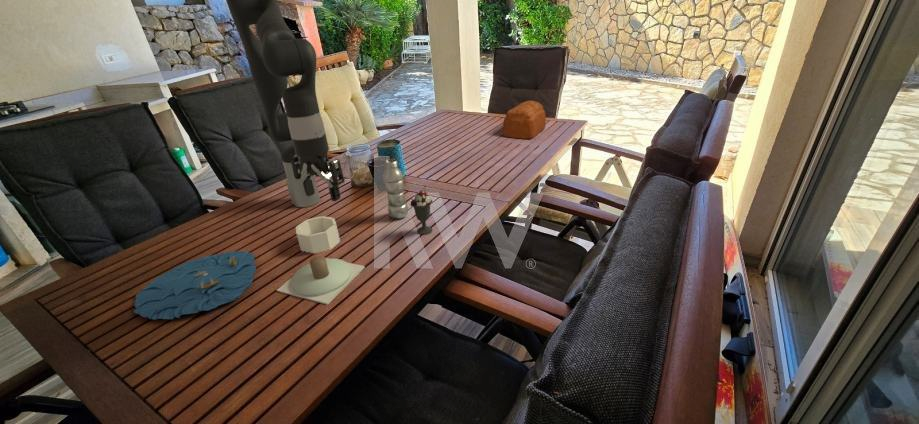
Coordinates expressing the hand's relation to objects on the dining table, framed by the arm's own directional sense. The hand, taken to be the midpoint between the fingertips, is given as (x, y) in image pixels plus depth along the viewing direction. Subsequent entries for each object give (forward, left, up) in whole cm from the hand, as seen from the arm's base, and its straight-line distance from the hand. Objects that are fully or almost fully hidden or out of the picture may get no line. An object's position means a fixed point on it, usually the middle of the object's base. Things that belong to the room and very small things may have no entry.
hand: (323, 197), depth 99 cm
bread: (+18, +136, -22) cm, 139 cm away
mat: (-2, -5, -22) cm, 23 cm away
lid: (-2, -5, -22) cm, 22 cm away
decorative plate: (-31, -18, -23) cm, 42 cm away
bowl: (-15, +10, -22) cm, 28 cm away
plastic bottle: (0, +32, -22) cm, 39 cm away
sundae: (+13, +26, -22) cm, 37 cm away
